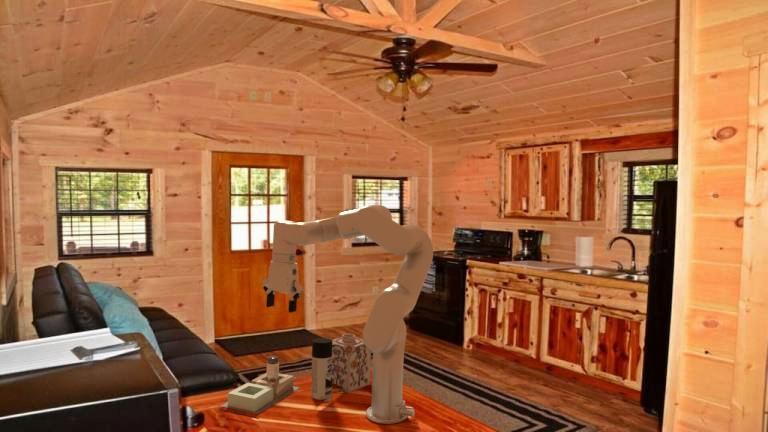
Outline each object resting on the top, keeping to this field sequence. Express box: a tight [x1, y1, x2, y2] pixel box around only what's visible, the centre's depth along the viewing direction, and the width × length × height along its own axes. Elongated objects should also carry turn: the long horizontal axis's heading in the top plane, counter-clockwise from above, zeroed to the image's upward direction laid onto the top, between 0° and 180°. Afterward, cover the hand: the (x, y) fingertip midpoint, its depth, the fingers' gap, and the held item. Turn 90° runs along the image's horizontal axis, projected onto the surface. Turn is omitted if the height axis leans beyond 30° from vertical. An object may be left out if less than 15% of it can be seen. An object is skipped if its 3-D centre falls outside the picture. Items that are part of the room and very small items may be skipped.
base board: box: [219, 385, 300, 420], centre depth 176 cm, size 14×24×2 cm, turn 158°
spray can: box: [311, 337, 333, 404], centre depth 178 cm, size 7×7×20 cm
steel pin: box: [266, 355, 280, 383], centre depth 181 cm, size 4×4×11 cm
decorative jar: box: [332, 333, 372, 394], centre depth 192 cm, size 12×12×18 cm
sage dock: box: [227, 382, 273, 412], centre depth 170 cm, size 10×10×4 cm
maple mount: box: [250, 372, 294, 398], centre depth 181 cm, size 10×10×4 cm
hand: (281, 309), depth 179 cm, fingers open, 9 cm apart
